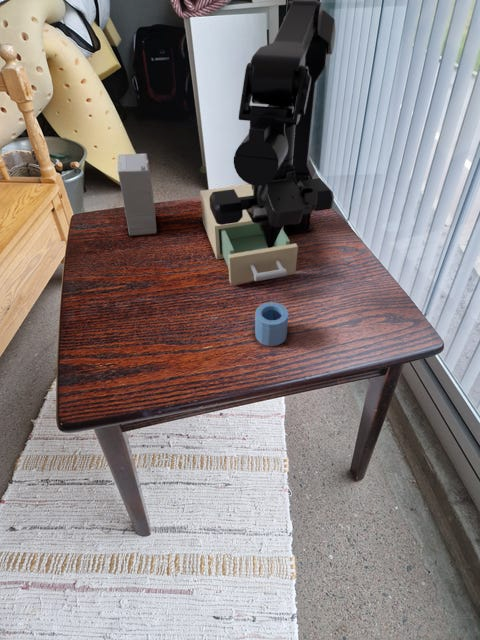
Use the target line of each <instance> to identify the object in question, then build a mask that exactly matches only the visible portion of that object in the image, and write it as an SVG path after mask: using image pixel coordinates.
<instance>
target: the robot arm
mask: <svg viewBox="0 0 480 640" xmlns="http://www.w3.org/2000/svg"><path fill="white" fill-rule="evenodd" d="M285 11H286V12H285V16H284V17H283V21H282V23H281V25H280V27H279V28H278V32H277V33H276V35H275V38H274V39H273V42H272V43H270V44H265V45H263V46H260V47H259V48H258V49H257V51H255V52H254V54H253V55H252V56H251V59H250V62H248V63H247V64H246V67H245V72H244V78H243V83H242V84H243V85H242V90H241V91H242V92H241V98H240V105H239V111H238V121H246V122H247V121H248V122H249V129H248V133H247V135H246V136H245V138H244V139H243V140H242V141H241V143H239V145H238V147H237V148H236V150H235V153H234V156H233V166H234V170H235V172H236V174H237V175H238V177H239V178H240V179H241V180H242V181H243V182H245V183H247V184H251V185H252V190H253V195H252V196H245V197H238V196H237V194H236V192H235V190H234V189H232V190H224V191H216V192H213V193H212V194H211V196H210V198H209V200H210V209H211V211H212V213H213V216H214V218H215V220H216V223H217V224H220V225H223V224H230V223H237V222H239V221H240V219H241V218H242V217H243V210H246V211H247V213H248V214H249V216H250V218H251V220H252V222H254V223H259V226H260V229H261V232H262V234H263V237H264V240H265V243H266V245H267V247H268V248H272V247H273V246H274V243H275V241H276V239H277V237H278V235H279V233H280V231H281V229H282V227H283V231H284V232H285V234H286V235H287V236H290V235H297V234H302V233H309V232H312V231H313V227H312V226H311V217H312V216H311V215H312V213H313V211H314V212H319V211H320V212H321V211H326V210H331V209H332V208H333V206H334V201H335V200H334V199H335V196H334V192H333V190H331V188H329V186H328V185H327V183H325V182H324V181H323V179H321V178H320V177H318V178H317V177H316V174H317V173H316V169H315V167H314V164H313V162H312V160H311V157H310V156H311V147H312V136H313V128H314V127H313V126H314V118H315V110H316V109H315V108H316V99H317V90H318V89H317V88H318V81H319V80H318V79H319V77H320V76H321V75H322V73H323V71H324V70H325V68H326V67H327V65H328V63H329V60H330V55H332V54H333V53H334V47H335V42H336V41H335V40H336V20H335V18H334V17H332V15H330V14H329V13H328V12H327V11H325V10H324V8H323V2H322V1H319V0H292V1H290V0H289V1H288V2H287V4H286V10H285ZM251 103H252V104H256V105H251ZM264 105H266V106H264Z"/></svg>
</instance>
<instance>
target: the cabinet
mask: <svg viewBox="0 0 480 640" xmlns="http://www.w3.org/2000/svg"><path fill="white" fill-rule="evenodd" d="M232 189H234V190H235V192H236V194H237V196H238V197H245V196H252V195H253V190H252V185H251V184H248V183H247V184H240V185H233V186H226V187H218V188H217V187H216V188H211V189H203V190H200V191H199V196H200V206H201V218H202V224H203V227H204V229H205V232H206V235H207V237H208V240H209V243H210V245H211V249H212V250H213V254H214V256H215V259H216V260H222V259H224V256H223V254H222V251H221V249H220V243H219V229H223V228H229V227H236V226H242V225H249V224H255V223H254V222H252V220H251V218H250V216H249V214H248V213H247V211H246V210H243V217H242V218H241V219H240V221H239V222H237V223H230V224H223V225H220V224H217V223H216V220H215V218H214V216H213V213H212V211H211V209H210V200H209V198H210V196H211V194H212V193H213V192H216V191H224V190H232ZM282 229H283V227H282Z"/></svg>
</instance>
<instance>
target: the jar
mask: <svg viewBox="0 0 480 640" xmlns="http://www.w3.org/2000/svg"><path fill="white" fill-rule="evenodd" d="M288 323H289V310H288V309H287V307H286V306H284V305H283V304H281V303H278V302H276V301H270V302H264V303H261V304H260V305H259V306H258V307H257V308H256V309H255V313H254V334H255V335H254V336H255V338H256V339H255V340H257V342H258V343H260V344H261V345H264V346H266V347H276V346H279V345H282V344H283V343H284V342H285V341H286V340H287V334H288V325H289V324H288Z"/></svg>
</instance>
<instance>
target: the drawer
mask: <svg viewBox="0 0 480 640" xmlns="http://www.w3.org/2000/svg"><path fill="white" fill-rule="evenodd" d="M219 243H220V249H221V251H222V254H223V256H224V258H223V259H224V261H225V264H226V266H227V269H228V282H229V284H230V285H236V284H240V283H241V284H242V283H247V282H251V281H254V282H260V281H265V280H270V279H271V280H272V279H276V278H282V277H287V276H288V275H292V274H296V271H297V262H298V261H297V260H298V251H299V246H298V244H297V243H291V240H290V239H289V237H288V235H286V234H285V232H284V231H283V229H281V231H280V233H279V235H278V237H277V239H276V241H275V243H274V246H273V247H272V248H268V247H267V245H266V243H265V240H264V237H263V234H262V232H261V229H260V226H259V223H255V224H249V225H242V226H236V227H229V228H223V229H219Z"/></svg>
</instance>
